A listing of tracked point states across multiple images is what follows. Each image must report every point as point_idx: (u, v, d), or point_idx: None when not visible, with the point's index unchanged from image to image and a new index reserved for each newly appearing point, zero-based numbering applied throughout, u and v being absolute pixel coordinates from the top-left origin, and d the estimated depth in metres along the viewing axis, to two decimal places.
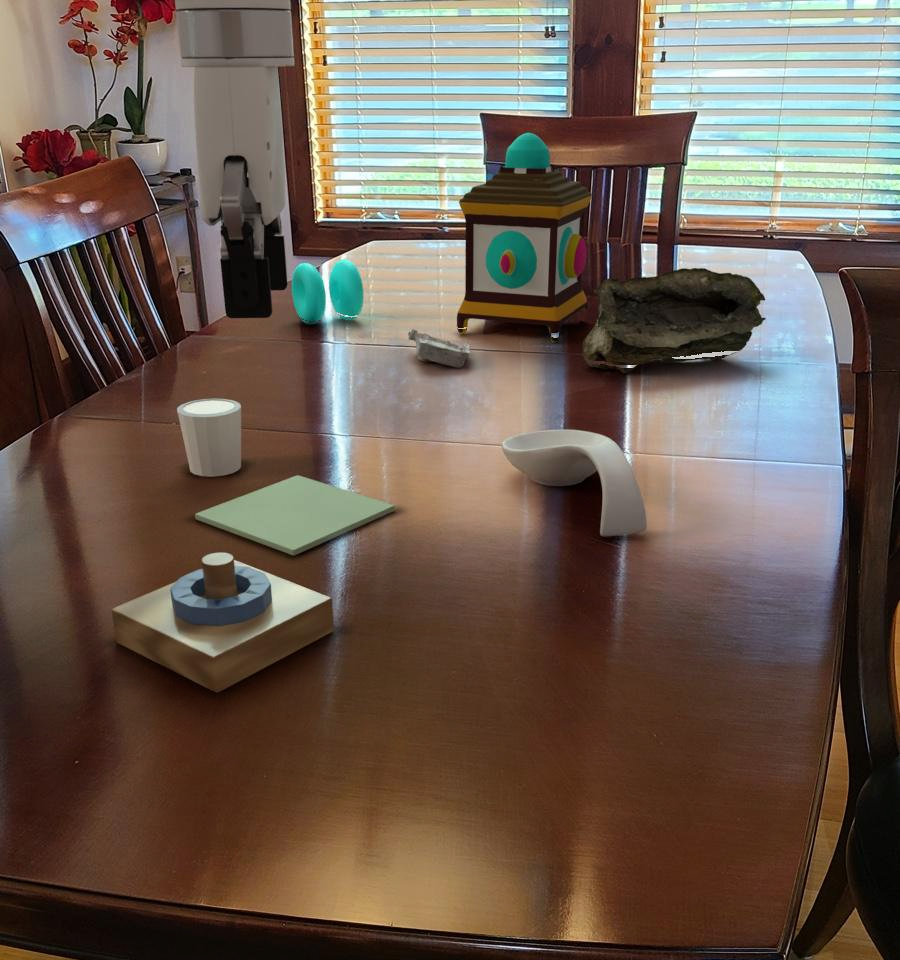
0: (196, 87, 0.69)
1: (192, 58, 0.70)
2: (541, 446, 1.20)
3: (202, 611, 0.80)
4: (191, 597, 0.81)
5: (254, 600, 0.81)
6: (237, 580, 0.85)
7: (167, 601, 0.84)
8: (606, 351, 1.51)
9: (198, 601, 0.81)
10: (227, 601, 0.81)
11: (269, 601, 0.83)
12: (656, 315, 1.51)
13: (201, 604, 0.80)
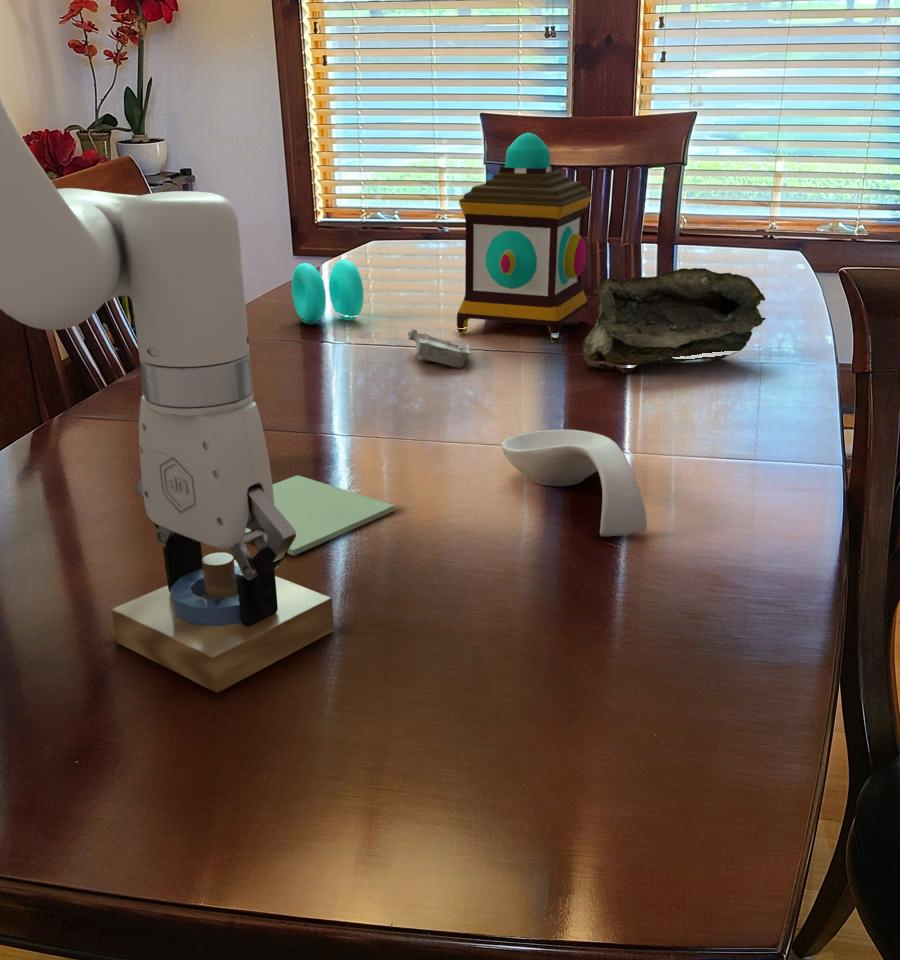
0: (216, 435, 0.73)
1: (195, 408, 0.73)
2: (541, 446, 1.20)
3: (202, 611, 0.80)
4: (191, 597, 0.81)
5: None
6: None
7: (167, 601, 0.84)
8: (606, 351, 1.51)
9: (198, 601, 0.81)
10: (227, 601, 0.81)
11: None
12: (656, 315, 1.51)
13: (201, 604, 0.80)
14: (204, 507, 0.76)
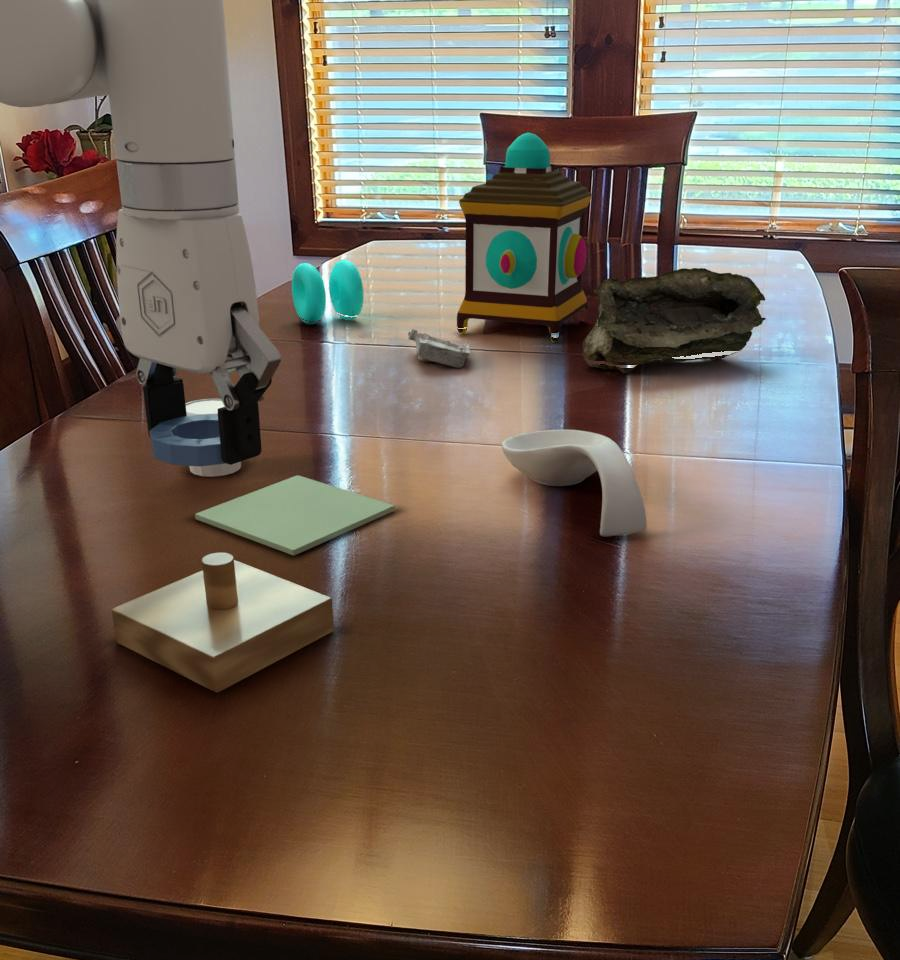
0: (197, 240, 0.68)
1: (175, 211, 0.68)
2: (541, 446, 1.20)
3: (182, 449, 0.75)
4: (171, 437, 0.76)
5: None
6: None
7: (167, 601, 0.84)
8: (606, 351, 1.51)
9: (178, 440, 0.76)
10: (210, 440, 0.76)
11: None
12: (656, 315, 1.51)
13: (182, 443, 0.75)
14: (184, 326, 0.71)
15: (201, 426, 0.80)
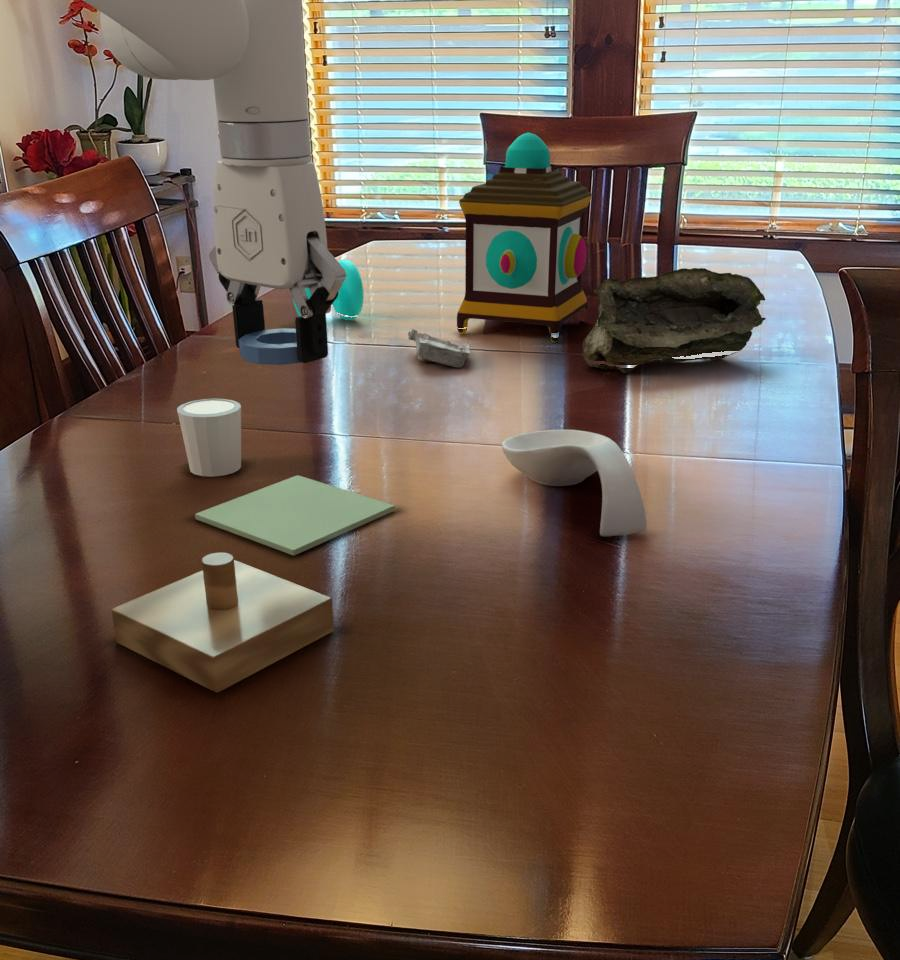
0: (282, 182, 0.88)
1: (265, 159, 0.88)
2: (541, 446, 1.20)
3: (267, 351, 0.95)
4: (257, 343, 0.96)
5: None
6: (294, 338, 1.00)
7: (167, 601, 0.84)
8: (606, 351, 1.51)
9: (263, 345, 0.96)
10: (288, 344, 0.96)
11: None
12: (656, 315, 1.51)
13: (266, 346, 0.95)
14: (270, 251, 0.91)
15: (277, 337, 1.00)
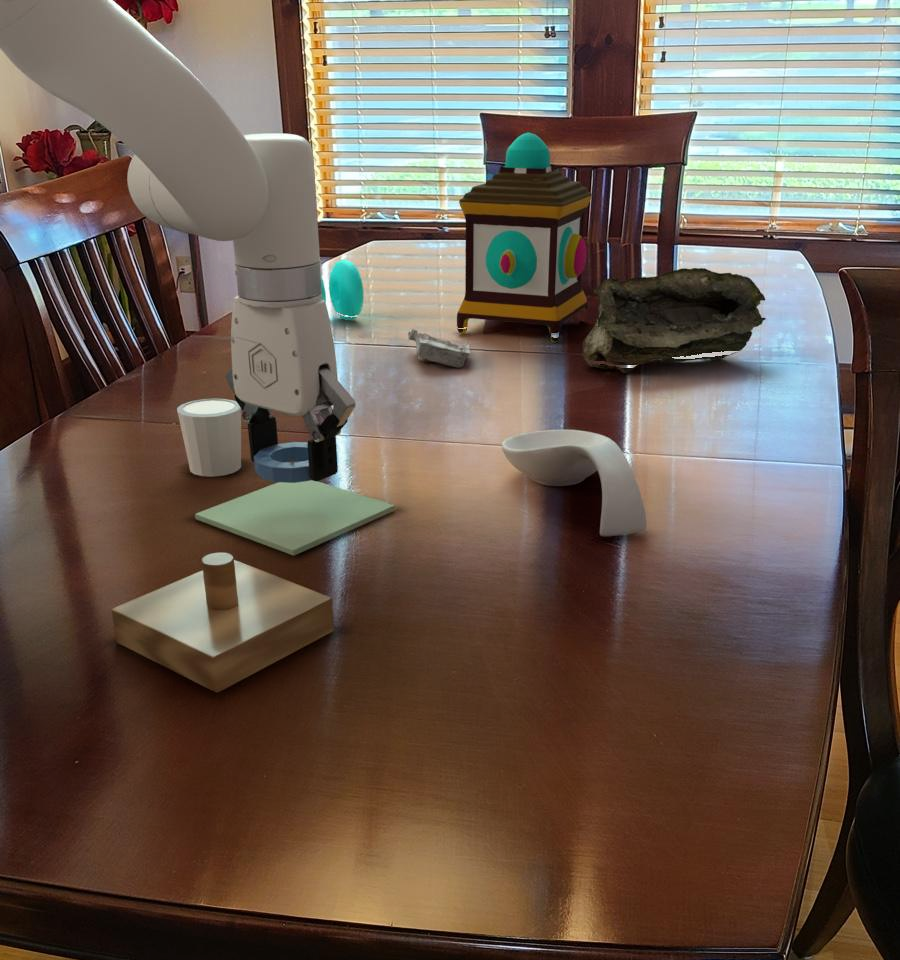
0: (296, 322, 0.94)
1: (280, 301, 0.94)
2: (541, 446, 1.20)
3: (281, 470, 1.01)
4: (271, 461, 1.03)
5: None
6: (305, 452, 1.07)
7: (167, 601, 0.84)
8: (606, 351, 1.51)
9: (277, 464, 1.02)
10: (300, 463, 1.02)
11: None
12: (656, 315, 1.51)
13: (280, 465, 1.02)
14: (284, 382, 0.97)
15: (290, 452, 1.07)
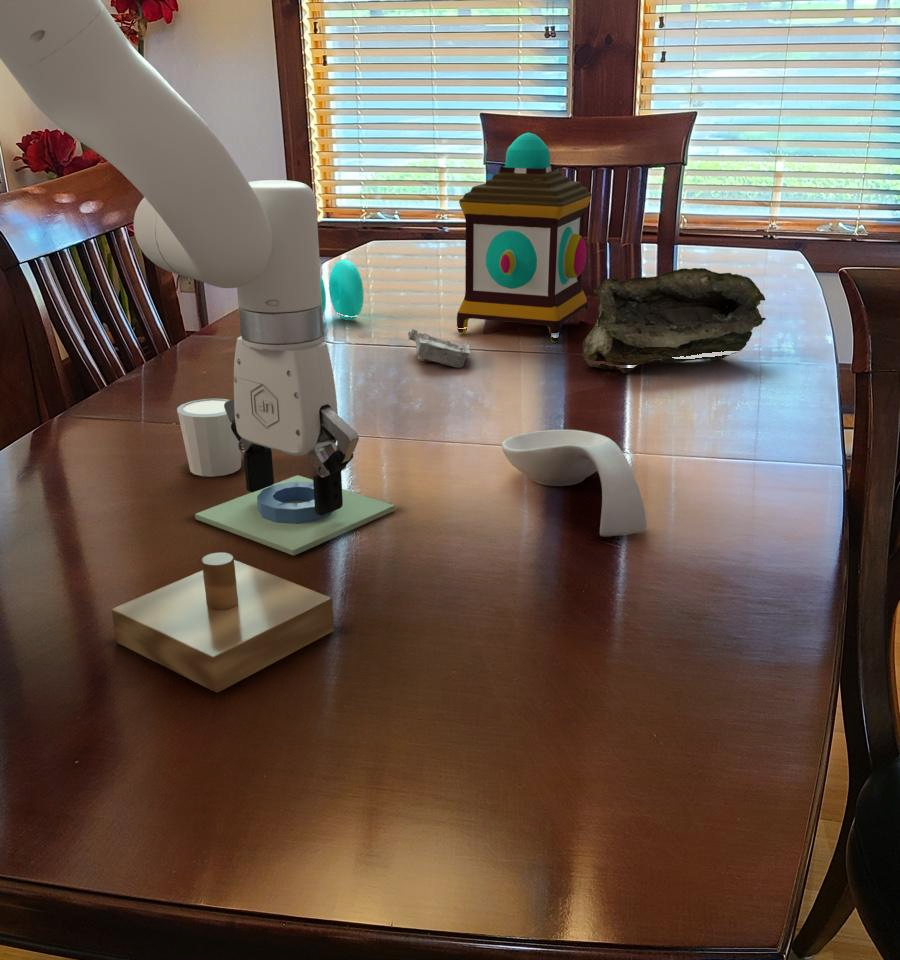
0: (298, 365, 0.96)
1: (282, 344, 0.96)
2: (541, 446, 1.20)
3: (284, 511, 1.03)
4: (274, 502, 1.05)
5: None
6: (307, 492, 1.09)
7: (167, 601, 0.84)
8: (606, 351, 1.51)
9: (280, 504, 1.04)
10: (303, 504, 1.04)
11: None
12: (656, 315, 1.51)
13: (283, 506, 1.04)
14: (286, 422, 0.99)
15: (292, 491, 1.09)
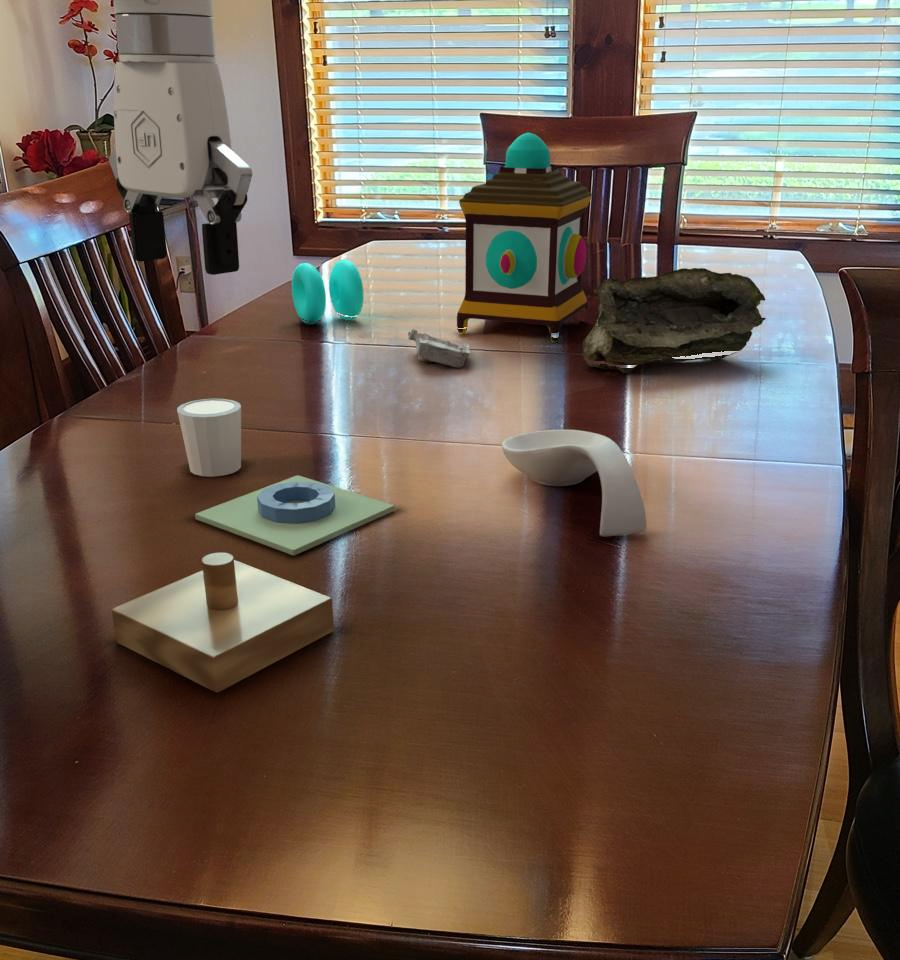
0: (180, 79, 0.83)
1: (162, 55, 0.83)
2: (541, 446, 1.20)
3: (284, 511, 1.03)
4: (274, 502, 1.05)
5: (323, 504, 1.05)
6: (307, 492, 1.09)
7: (167, 601, 0.84)
8: (606, 351, 1.51)
9: (280, 504, 1.04)
10: (303, 504, 1.04)
11: (333, 507, 1.07)
12: (656, 315, 1.51)
13: (283, 506, 1.04)
14: (169, 155, 0.86)
15: (292, 491, 1.09)
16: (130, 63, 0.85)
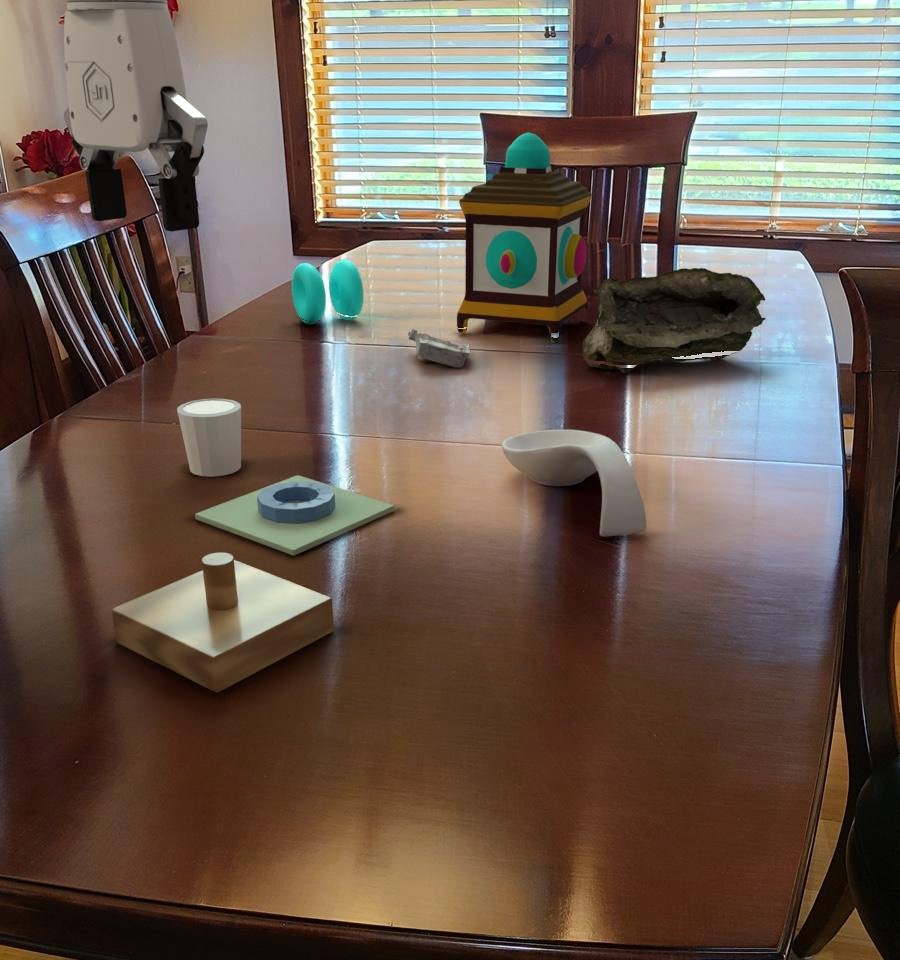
0: (130, 26, 0.80)
1: (110, 1, 0.80)
2: (541, 446, 1.20)
3: (284, 511, 1.03)
4: (274, 502, 1.05)
5: (323, 504, 1.05)
6: (307, 492, 1.09)
7: (167, 601, 0.84)
8: (606, 351, 1.51)
9: (280, 504, 1.04)
10: (303, 504, 1.04)
11: (333, 507, 1.07)
12: (656, 315, 1.51)
13: (283, 506, 1.04)
14: (121, 107, 0.83)
15: (292, 491, 1.09)
16: (78, 12, 0.82)
